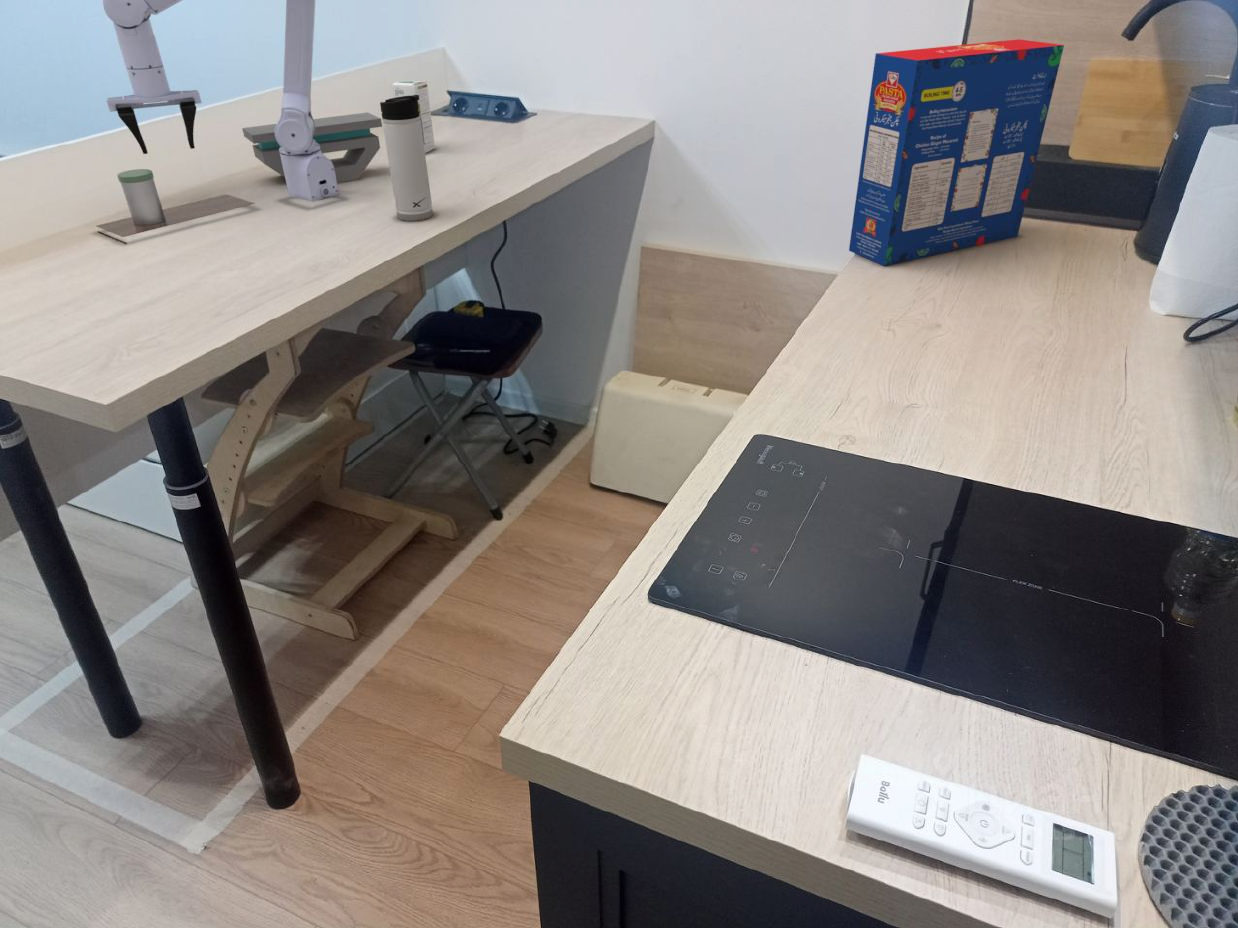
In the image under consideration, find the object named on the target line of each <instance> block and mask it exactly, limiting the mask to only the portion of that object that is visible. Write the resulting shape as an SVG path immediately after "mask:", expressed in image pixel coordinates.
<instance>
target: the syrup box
mask: <svg viewBox="0 0 1238 928" xmlns="http://www.w3.org/2000/svg"><path fill="white" fill-rule="evenodd" d="M428 89H429V87H428V82H427V81H426V80H423V81H422V80H421V81H420V80H398V81H396V82H394V83H392V90H393V92H392V93H393V98H396V97H402V96H411V95H419V100H418V107H419V109H418V111H419V115H420V121H421V127H422V134H423V142H424V149H425V154H426V153H429V152H430V151H431V152H432V150H434V149H436V145H435V138H434V130H433V120H432V113H431V112H432V111H431V104H430V96H429V90H428Z"/></svg>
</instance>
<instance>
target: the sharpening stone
mask: <svg viewBox="0 0 1238 928" xmlns="http://www.w3.org/2000/svg"><path fill="white" fill-rule="evenodd" d="M313 119H314V122H315V133H314V135H313V137H312V139H314V140H315V141H316V142H317V144H319V145H320V150H321V152H322V154H327V153H335V152H342V151H346V152H345V154H343V156H342V157H337V158H329V159H330V161H331V162H332V164H333V166H334V170H335V175H336V180H337V184H338V183H345V182H350V181H356V180H359V179H360V177H361V176H362V174H363V173H364V172H365V170H366V169H367V167H368V166H369V164H370V163H371V162H372V160H373V159H374V158H375V156H376V154H377V153H378V151H379V150H380V149H381V144H380V138H379V136H378V135H376V134H374V133H372V132H371V129H375V128H383V121H382V117H379V116H376V115H374V114H372V113H370V112H368V111H367V112H360V113H352V114H344V115H337V116H336V115H335V116H328V117H320V118H313ZM276 124H277V123H272V124H271V123H270V124H264V125H254V126H249V127H248V126H247V127H242V133H243V137H244V138H246V139H247V140H248V141H249V142H251V143H252V149H253V152H254V157H255V158H256V159H258V161H260V162H261V163H262V164H264V165H265V166H267V167H268V168H270V169H271V170H273V171H274V172H275V173H277V174H279V175H280V176H281V177H283V178H285V175H284V170H283V166H282V161H281V157H280V152H279V148H280V147H281V146H280V145H279V144H278V142H277V140H276V138H275V126H276Z"/></svg>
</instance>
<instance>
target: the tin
mask: <svg viewBox="0 0 1238 928" xmlns="http://www.w3.org/2000/svg"><path fill="white" fill-rule="evenodd" d="M154 177H155V176H154V173H153V170H151V169H147V168H146V169H145V168H136V169H129V170H125V171H121V172H119V173H117V179H118V182H119V183H120V185H121V188H122V191H123V194H124V197H125V201H126V203H127V208H128V210H129V213H130V216H131V217H132V219H133V222H134V224H136V225H152V224H157V223H160V222H163V221H164V220H165V215H164V212H163V209H164V208H163V205H162V202H161V199H160V195H159V193H158V190H157V187H156V183H155V179H154Z"/></svg>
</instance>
